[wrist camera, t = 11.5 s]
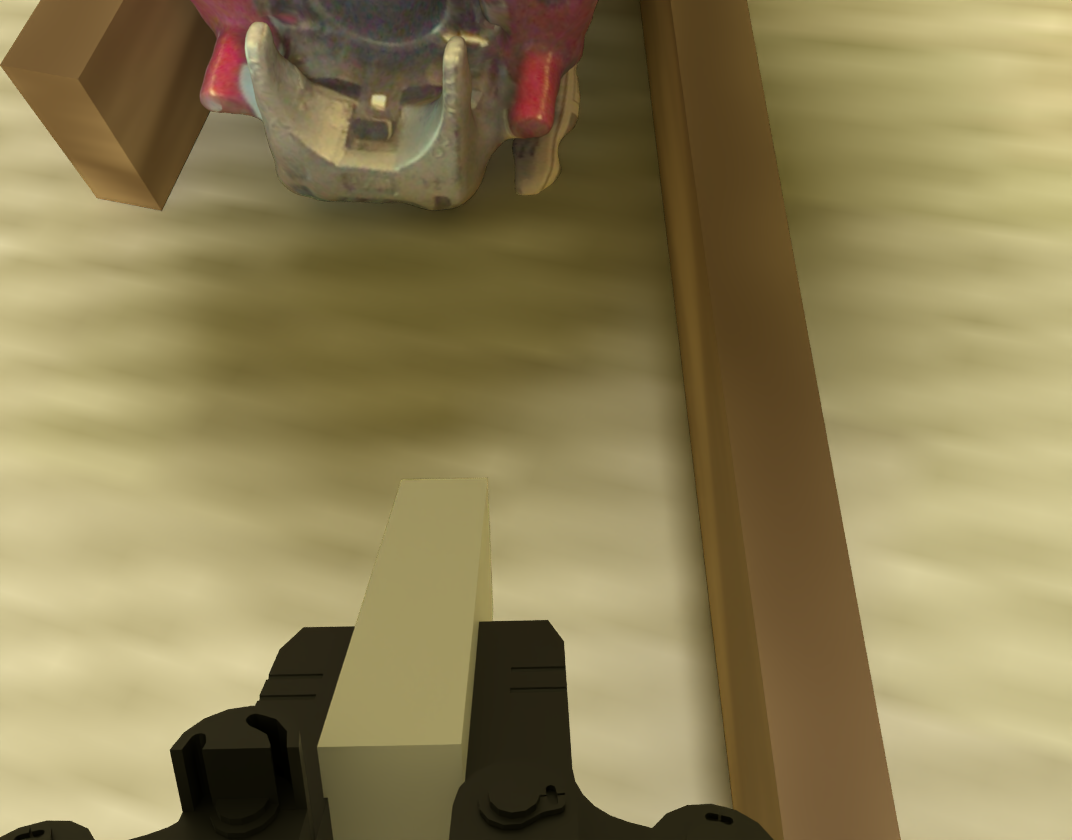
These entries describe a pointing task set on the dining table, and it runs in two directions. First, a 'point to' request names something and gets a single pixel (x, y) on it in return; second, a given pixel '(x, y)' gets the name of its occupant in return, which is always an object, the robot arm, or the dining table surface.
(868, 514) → the dining table surface
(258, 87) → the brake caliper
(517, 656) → the robot arm
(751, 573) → the brown wooden bar frame
